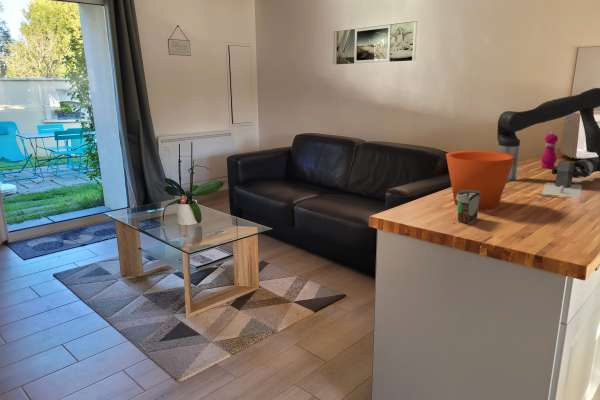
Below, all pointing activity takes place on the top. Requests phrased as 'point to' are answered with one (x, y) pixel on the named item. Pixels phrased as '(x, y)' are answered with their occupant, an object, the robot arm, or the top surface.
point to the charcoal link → (564, 174)
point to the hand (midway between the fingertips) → (563, 173)
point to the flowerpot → (480, 174)
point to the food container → (467, 205)
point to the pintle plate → (566, 190)
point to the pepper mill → (549, 151)
